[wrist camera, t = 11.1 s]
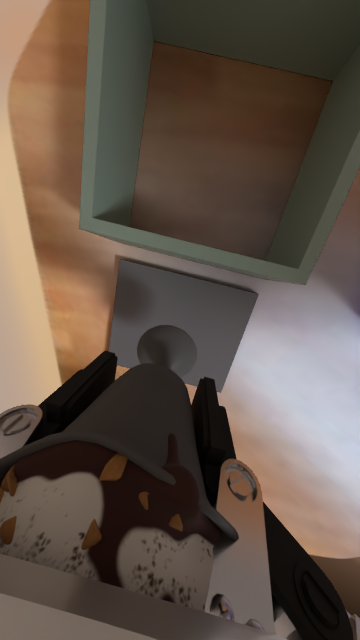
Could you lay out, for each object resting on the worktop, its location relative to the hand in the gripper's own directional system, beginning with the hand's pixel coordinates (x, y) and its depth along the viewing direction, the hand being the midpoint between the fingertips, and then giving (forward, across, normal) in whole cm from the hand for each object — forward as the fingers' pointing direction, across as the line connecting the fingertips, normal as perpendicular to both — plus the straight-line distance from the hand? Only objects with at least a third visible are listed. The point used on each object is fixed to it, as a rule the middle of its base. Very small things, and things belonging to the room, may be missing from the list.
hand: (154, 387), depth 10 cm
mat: (+10, 0, 0) cm, 10 cm away
